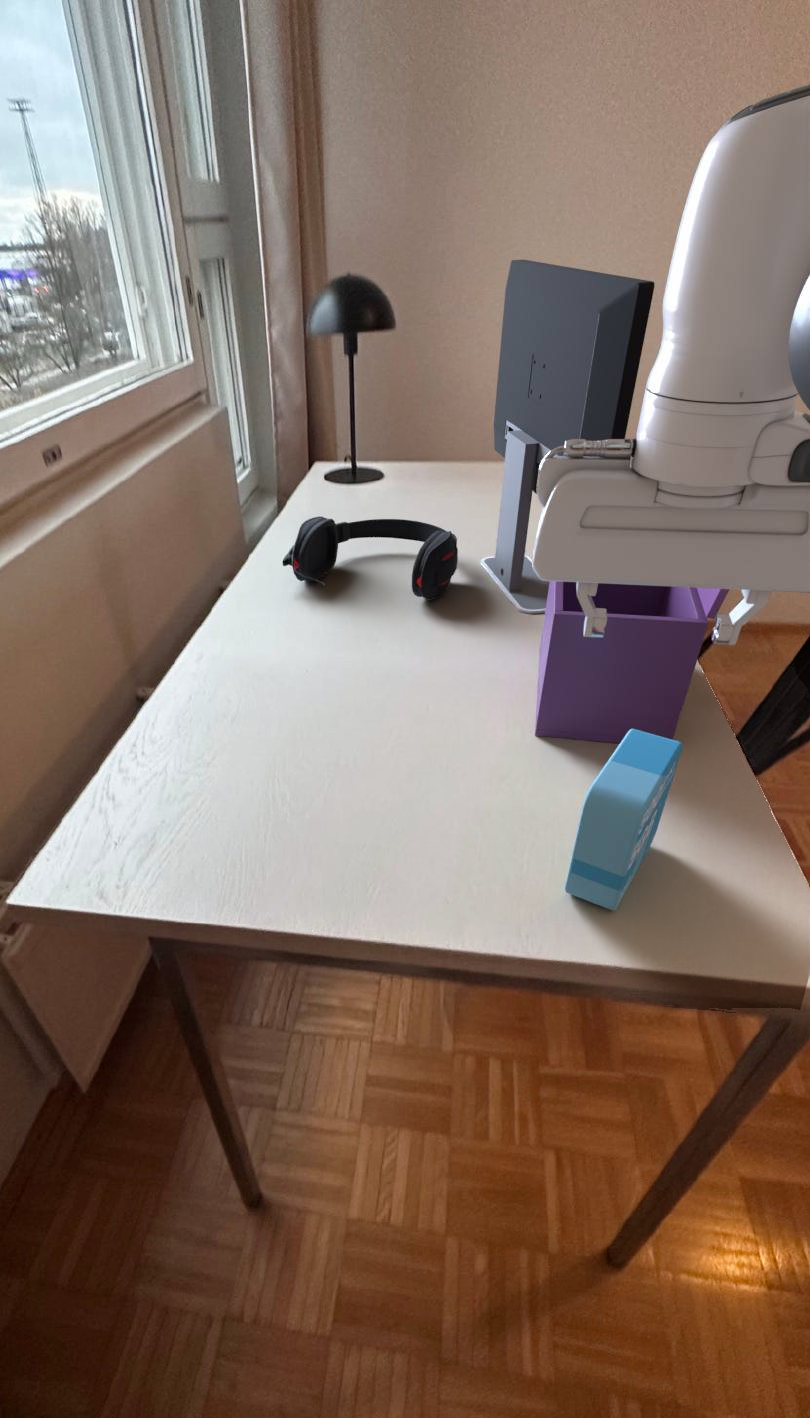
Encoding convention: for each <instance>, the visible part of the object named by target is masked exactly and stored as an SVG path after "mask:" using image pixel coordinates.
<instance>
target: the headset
mask: <svg viewBox="0 0 810 1418" xmlns="http://www.w3.org/2000/svg"><path fill="white" fill-rule="evenodd" d="M365 538H366V539H367V538H387V539H397V540H407V541H415V542H421V543H423V544H422V545H421V547H420V548H419V550H418V551H417V552H418V553H417V555H416V557H415V560H414V563H413V567H412V572H411V591H412V593H413V595H414V596H416V597H417V598H424V599H426V600H429V601H431V600H437V599H440V598H442V597H444V595H446V593H447V592H448V589H449V586H450V583H451V580H452V577H453V576H454V574H455V573H456V571H457V568H458V557H459V556H458V555H459V553H458V552H459V551H458V550H459V549H458V537H457V536H456V534H454V533H453V532H452V531H451V530H449V531H447V530H445V529H444V528H442V527H440V526H436V525H433V524H431V523H427V522H423V521H419V520H411V519H401V518H375V519H374V518H373V519H365V520H356V521H351V522H348V521H342V522H337V523H336V521H335V520H334V519H333V518H327V517H324V516H314V517H312V518H309V519H306V520H305V521H304V522H302V524H300V527H299V530H298V532H297V535H296V538H295V542H294V544H293V545H292V546H291V548H290V549H289V551H288V552H287V554H285V556H284V557H283V559H282V566H283V567H286V566H291V567H292V571H293V574H294V576H295V578H296V579H297V580H298V581H299V582H303V581H305V582H307V581H308V582H319V583H321V584H322V585H320V586H318V588H322V587H324V586H325V583H324V582H322V581H320V579H321V578H323V577H325V576H326V575H327V574H328V573H329V572H330V571H332V569H333V568H334V566H335V565H336V563H337V557H338V550H339V544H341V543H344V542H348V541H349V540H353V539H365Z"/></svg>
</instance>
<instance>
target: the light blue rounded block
mask: <svg viewBox="0 0 810 1418" xmlns="http://www.w3.org/2000/svg"><path fill="white" fill-rule="evenodd" d="M683 748H684V744H683V742H681V741H679V740H675V739H673V740H672V739H668V738H664V737H661V736H657V735H654V734H650V733H647V732H643V731H640V730H636V729H630V730H629V731H628V733H627V734H626V735H625V737H624V738H623V740H622V741H621V743H618V745H617V747H616V748H615V750H614V751H613V753H612V754H611V756H610V757H609V759H608V760H607V761H606V763H605V765H604V766H603V767H602V769H601V770H600V772H599V773H598V775H597V776H596V778H595V779H594V781H593V782H592V784H591V785H590V787H589V789H588V791H587V793H586V796H585V798H584V802H583V804H582V809H581V812H580V817H579V822H578V826H577V831H576V834H575V835H576V836H575V840H574V843H573V849H572V852H571V858H570V862H569V866H568V871H567V875H566V881H565V883H564V890H565V892H566V893H567V894H568V895H569V894H570V895H571V896H574V897H577V898H579V899H582V900H584V901H587V902H589V903H592V904H595V905H597V906H600V907H602V908H604V909H607V910H610V911H616V910H617V908H618V907H619V905H620V903H621V902H622V900H623V898H624V896H625V895H626V892H627V890H628V889H629V887H630V885H631V883H632V881H633V879H634V878H635V876H636V874H637V872H638V870H639V869H640V866H641V864H642V862H643V860H644V859H645V857H646V854H647V853H648V851H649V850H650V848H651V846H652V844H653V841H654V838H655V836H656V833H657V831H658V828H659V825H660V821H661V819H662V815H663V812H664V808H665V806H666V802H667V800H668V796H669V793H670V790H671V787H672V784H673V780H674V778H675V774H676V772H677V768H678V765H679V762H680V758H681V756H682V752H683Z"/></svg>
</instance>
